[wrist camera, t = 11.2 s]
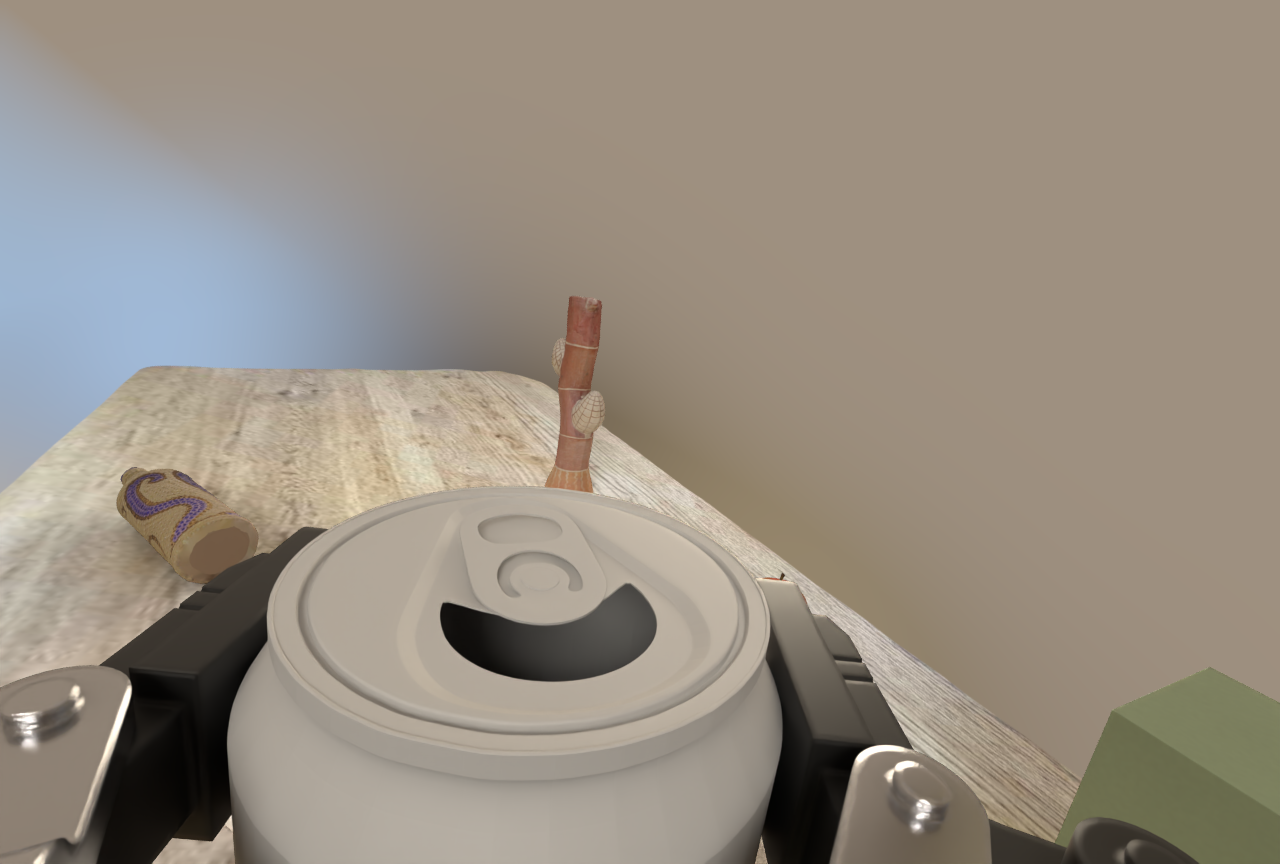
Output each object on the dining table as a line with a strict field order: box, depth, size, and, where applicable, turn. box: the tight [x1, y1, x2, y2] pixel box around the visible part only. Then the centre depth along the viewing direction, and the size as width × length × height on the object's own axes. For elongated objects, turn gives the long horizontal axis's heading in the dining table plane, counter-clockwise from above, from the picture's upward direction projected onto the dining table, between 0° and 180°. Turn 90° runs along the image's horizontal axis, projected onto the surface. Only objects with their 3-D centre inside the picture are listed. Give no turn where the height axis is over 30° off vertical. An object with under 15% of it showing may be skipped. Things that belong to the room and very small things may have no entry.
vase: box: [545, 296, 605, 493], centre depth 84 cm, size 11×7×30 cm
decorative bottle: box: [116, 467, 258, 584], centre depth 65 cm, size 26×8×7 cm, turn 53°
